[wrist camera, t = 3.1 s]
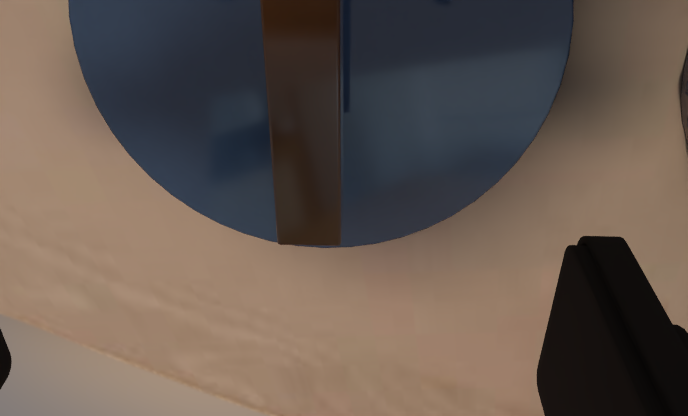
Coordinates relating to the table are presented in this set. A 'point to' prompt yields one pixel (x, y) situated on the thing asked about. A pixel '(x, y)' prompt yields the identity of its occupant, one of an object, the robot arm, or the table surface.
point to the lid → (324, 105)
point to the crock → (685, 98)
